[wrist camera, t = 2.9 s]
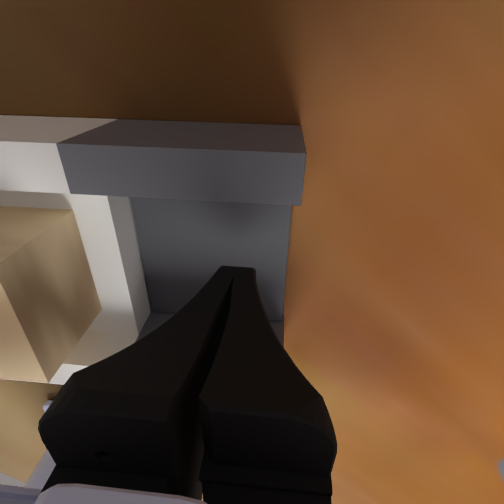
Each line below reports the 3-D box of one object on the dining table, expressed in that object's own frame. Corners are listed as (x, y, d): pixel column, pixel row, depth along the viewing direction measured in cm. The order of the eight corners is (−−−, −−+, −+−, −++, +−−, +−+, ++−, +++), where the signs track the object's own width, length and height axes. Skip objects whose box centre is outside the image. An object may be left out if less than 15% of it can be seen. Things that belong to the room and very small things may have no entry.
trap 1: (282, 315, 17) (281, 321, 17) (154, 306, 18) (152, 311, 17) (294, 167, 13) (295, 170, 13) (128, 160, 13) (124, 163, 13)
